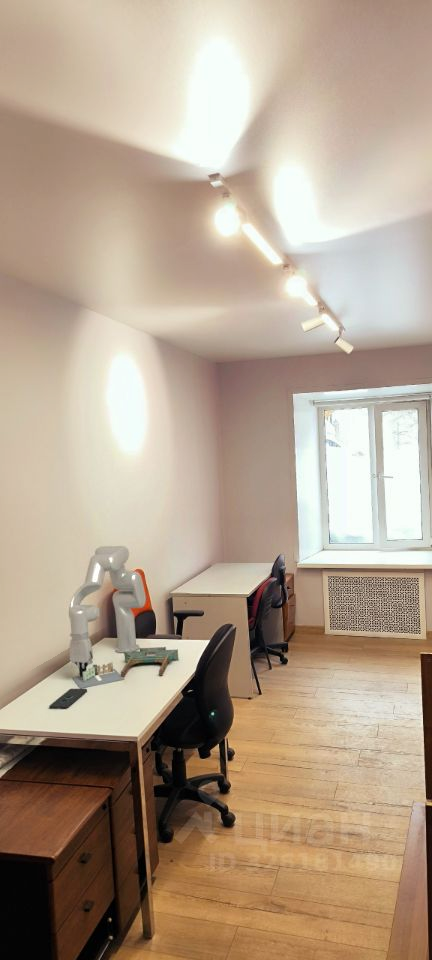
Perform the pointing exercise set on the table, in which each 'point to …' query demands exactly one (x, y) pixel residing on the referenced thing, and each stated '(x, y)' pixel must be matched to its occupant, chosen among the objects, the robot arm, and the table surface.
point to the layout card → (98, 679)
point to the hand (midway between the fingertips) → (83, 676)
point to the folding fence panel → (88, 673)
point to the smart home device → (68, 699)
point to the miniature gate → (149, 657)
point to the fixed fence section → (110, 668)
